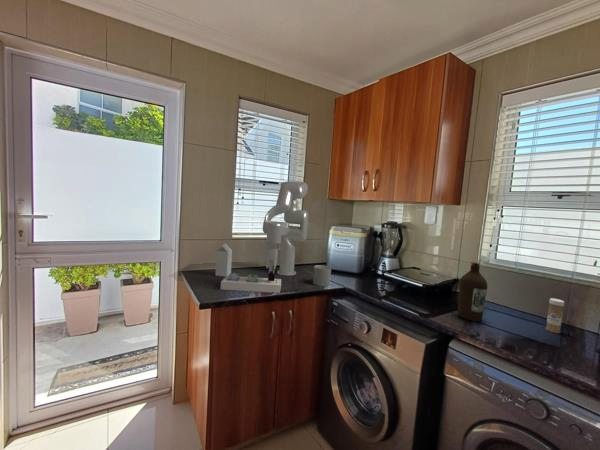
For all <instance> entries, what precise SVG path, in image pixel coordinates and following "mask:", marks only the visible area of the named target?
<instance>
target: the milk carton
mask: <svg viewBox="0 0 600 450" xmlns="http://www.w3.org/2000/svg"><path fill="white" fill-rule="evenodd" d="M215 255H216V256H215V257H216V258H215V276H216V277H224V278H225V277H226V276H229V274H231V273H232V259H233V256H232V255H233V250H232V249H231V248H230V247H229V246H228V243H223V244H222V245H220V246H219V247H218V250H216V254H215Z"/></svg>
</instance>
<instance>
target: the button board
mask: <svg viewBox="0 0 600 450" xmlns="http://www.w3.org/2000/svg"><path fill="white" fill-rule="evenodd" d="M267 280H268V277H257V282H248V276H239V277H238V281H230V280H229V276H226V277H225V276H224V278H223V279H222V280H221V282H220V290H225V291H227V290H228V291H239V292H240V291H242V292H255V293H256V292H257V293H270V294H271V293H272V292H273V294H280V292H281V287H282V279H281V278H274V280H276V283H267Z"/></svg>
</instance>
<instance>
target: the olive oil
mask: <svg viewBox="0 0 600 450" xmlns="http://www.w3.org/2000/svg"><path fill="white" fill-rule="evenodd" d="M480 264H481V263H479V262H476V261H475V262H474V261H473V262H471V264H470V270H469V271H467V272H466V273H465V274H463V275H462V276H461V278H460V280H459V291H458V306H457V307H458V308H457V316H458V315H459V316H460V318H461V317H463V318H465V319H464V320H466V319H468V320H467V321H470V320H472V322H482V321H481V320H483V316H484V312H485V305H486V304H485V303H486V298H487V292H488V281H487V280H486V279H485V277H484V276H483V275H482V273H480V268H481V267H480ZM459 316H458V317H459ZM463 318H462V319H463Z"/></svg>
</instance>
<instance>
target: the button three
mask: <svg viewBox="0 0 600 450" xmlns="http://www.w3.org/2000/svg"><path fill="white" fill-rule="evenodd" d="M247 277H248V282H257V278H258V275H257V274H248V275H247Z"/></svg>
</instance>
